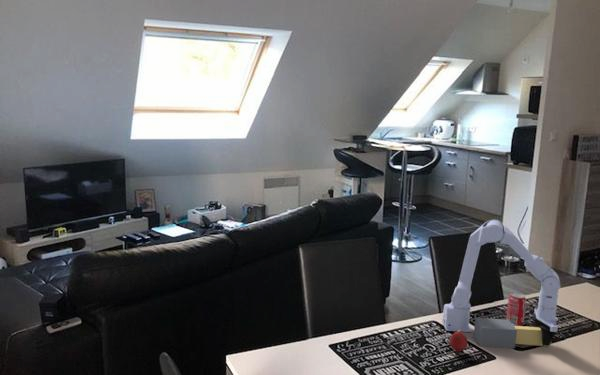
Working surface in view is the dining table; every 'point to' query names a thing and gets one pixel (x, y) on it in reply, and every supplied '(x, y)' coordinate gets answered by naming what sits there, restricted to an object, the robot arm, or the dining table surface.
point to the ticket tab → (529, 335)
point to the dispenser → (495, 333)
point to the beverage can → (516, 309)
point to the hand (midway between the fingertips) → (542, 341)
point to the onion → (458, 341)
